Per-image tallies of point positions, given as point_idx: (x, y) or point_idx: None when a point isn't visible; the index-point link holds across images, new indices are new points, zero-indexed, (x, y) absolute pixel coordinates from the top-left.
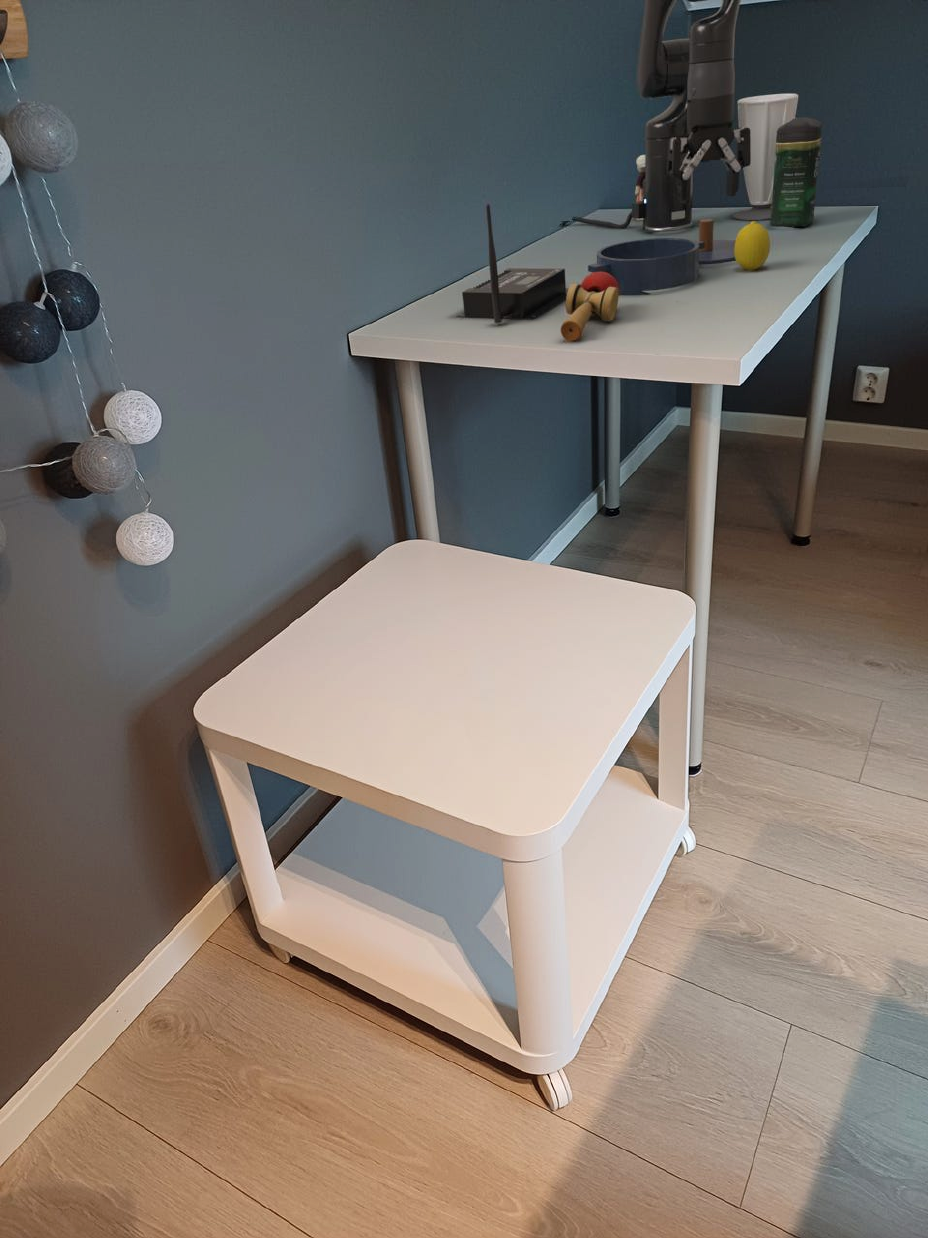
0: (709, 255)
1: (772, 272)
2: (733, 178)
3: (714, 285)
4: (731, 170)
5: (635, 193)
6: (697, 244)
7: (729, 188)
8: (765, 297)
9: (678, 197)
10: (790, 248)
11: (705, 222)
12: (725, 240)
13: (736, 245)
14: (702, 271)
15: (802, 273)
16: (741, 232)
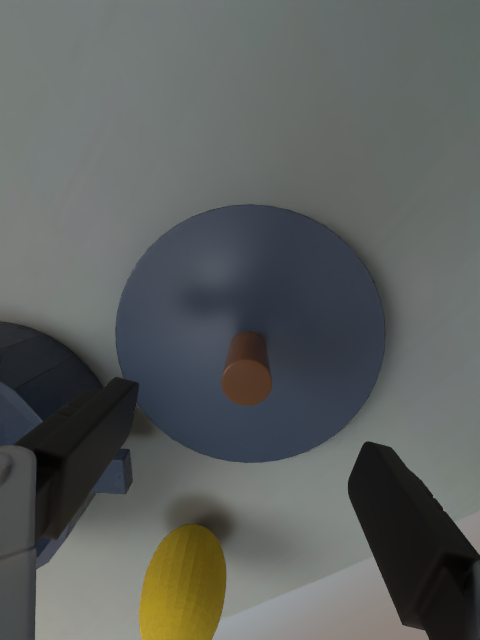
0: (210, 402)
1: (225, 550)
2: (389, 581)
3: (94, 535)
4: (434, 619)
5: None
6: (55, 546)
7: (370, 492)
8: (105, 633)
9: (82, 395)
10: (418, 444)
11: (228, 396)
12: (369, 298)
13: (143, 584)
14: (146, 445)
15: (250, 589)
16: (141, 627)
